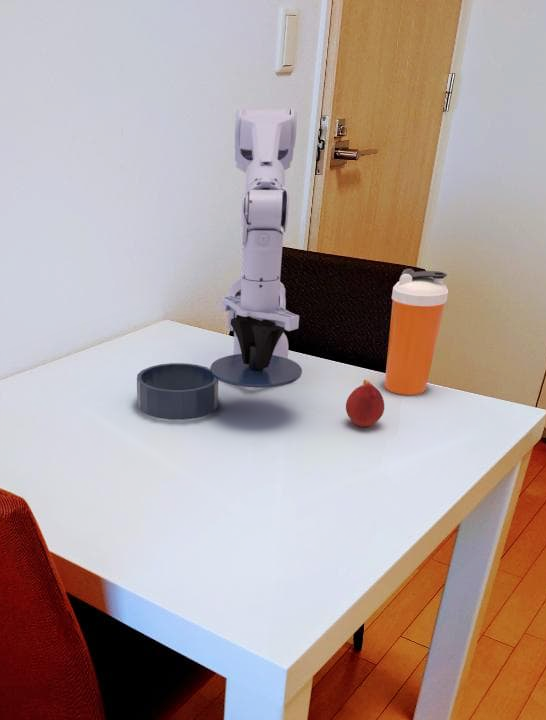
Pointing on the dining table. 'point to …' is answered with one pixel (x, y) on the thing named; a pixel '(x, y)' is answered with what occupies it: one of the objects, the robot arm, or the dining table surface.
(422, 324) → the shaker bottle
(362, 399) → the onion
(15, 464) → the dining table surface
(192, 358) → the dining table surface
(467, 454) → the dining table surface
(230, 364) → the lid
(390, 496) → the dining table surface
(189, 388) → the pot
